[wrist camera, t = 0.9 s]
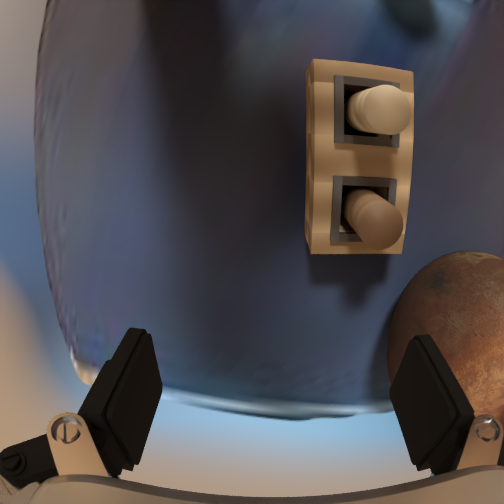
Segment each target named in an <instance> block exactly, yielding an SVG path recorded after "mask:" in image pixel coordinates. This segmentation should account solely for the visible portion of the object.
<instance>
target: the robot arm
mask: <svg viewBox="0 0 504 504" xmlns="http://www.w3.org/2000/svg"><path fill="white" fill-rule="evenodd" d="M161 394H162V381H161V377H160V373H159V369H158V364H157V360H156V356H155V351H154V346H153V341H152V337H151V334H147V332H146V330H145V329H138V328H129V329H128V331H127V332H126V334H125V336H124V338H123V339H122V341H121V343H120V345H119V346H118V348H117V350H116V352H115V353H114V355H113V357H112V359H111V360H108V361H106V362H105V364H104V365H103V367H102V369H101V371H100V373H99V374H98V376H97V378H96V380H95V382H94V383H93V385H92V387H91V389H90V391H89V393H88V394H87V396H86V398H85V400H84V402H83V404H82V406H81V408H80V410H79V412H78V414H75V413H69V412H66V413H61V414H59V415H57V416H55V417H54V418H53V419H52V420H51V421H50V422H49V424H48V427H47V434H44V435H41V436H39V437H36V438H33V439H30V440H27V441H25V442H22V443H19V444H16V445H13V446H10V447H7V448H6V449H4V450H3V451H2V452H1V453H0V504H504V436H503V434H504V430H503V426H502V424H501V423H500V421H499V420H498V419H497V418H496V417H494V416H492V415H488V414H481V415H479V416H477V417H475V415H474V412H475V411H474V410H473V408H472V406H471V404H470V402H469V400H468V398H467V396H466V395H465V393H464V391H463V389H462V387H461V386H460V384H459V382H458V380H457V379H456V377H455V375H454V373H453V372H452V370H451V368H450V366H449V365H448V363H447V361H446V360H445V358H444V356H443V355H442V353H441V351H440V350H439V348H438V346H437V345H436V343H435V342H434V340H433V338H432V337H431V336H430V335H429V334H424V335H415V336H414V337H413V339H411V340H410V341H409V343H408V345H407V348H406V351H405V353H404V356H403V359H402V361H401V364H400V366H399V369H398V371H397V373H396V376H395V378H394V380H393V383H392V385H391V387H390V393H389V394H390V398H391V401H392V404H393V407H394V410H395V413H396V415H397V418H398V421H399V424H400V427H401V430H402V433H403V437H404V439H405V443H406V446H407V449H408V452H409V455H410V459H411V462H412V463H413V465H416V467H417V470H418V471H421V470H425V469H429V468H430V469H431V472H432V473H431V476H430V477H429V478H425V479H421V480H417V481H412V482H408V483H403V484H399V485H394V486H389V487H383V488H378V489H372V490H366V491H358V492H351V493H342V494H333V495H322V496H306V497H242V496H227V495H215V494H205V493H197V492H189V491H182V490H176V489H169V488H163V487H157V486H152V485H147V484H142V483H137V482H132V481H127V480H122V479H120V477H119V475H120V474H121V472H122V469H126V470H129V471H133V467H134V464H135V465H138V464H139V462H140V460H141V456H142V453H143V450H144V447H145V443H146V440H147V437H148V434H149V431H150V428H151V424H152V421H153V418H154V415H155V412H156V409H157V406H158V403H159V400H160V397H161Z"/></svg>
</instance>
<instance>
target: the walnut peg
mask: <svg viewBox="0 0 504 504" xmlns="http://www.w3.org/2000/svg"><path fill="white" fill-rule="evenodd" d="M341 210H342V214H343V216H344V218H345V219H346V220H347V221H348V223H349V224H350V225H351V227H352V228H353V229H354V230H355V232H356V233H357V234H358V236H359V237H360V238H361V240H362V241H363V242H364V243H365V244H366V245H367V246H368V247H370V248H372V249H375V250H383V249H387V248H389V247H391V246H392V245H394V244H395V243H396V242H397V241H398V239H399V238H400V236H401V234H402V231H403V225H404V224H403V217H402V215H401V213H400V211H399V210H398V209H397V208H396V207H394V206H393V205H392V204H390V203H389V202H387V201H386V200H385V199H383V198H382V197H380V196H379V195H377V194H376V193H374V192H373V191H372V190H370V189H368V188H365V187H356V188H353V189H351V190H350V191H348V192H347V193H346V195H345V196H344V198H343V200H342V204H341Z"/></svg>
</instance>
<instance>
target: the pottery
mask: <svg viewBox="0 0 504 504" xmlns="http://www.w3.org/2000/svg"><path fill="white" fill-rule="evenodd" d="M424 334H429V335H430V336H431V337H432V338H433V340H434V342H435V343H436V345H437V346H438V348H439V350H440V351H441V353H442V355H443V356H444V358H445V360H446V361H447V363H448V365H449V366H450V368H451V370H452V372H453V373H454V375H455V377H456V379H457V380H458V382H459V384H460V386H461V387H462V389H463V391H464V393H465V395H466V396H467V398H468V400H469V402H470V404H471V406H472V408H473V410H474V411H475V412H474V415H475V417H477V416H479V415H481V414H488V415H492V416H494V417H496V418H497V419H498V420H499V421H500V423H501V424H502V426H503V430H504V260H503V259H501V258H500V257H497V256H494V255H491V254H488V253H483V252H478V251H459V252H454V253H450V254H447V255H443V256H441V257H439V258H437V259H435V260H434V261H432V262H430V263H429V264H427V265H426V266H425V267H423V268H422V269H421V270H420V271H419V272H418V273H417V274H416V275H415V276H414V277H413V278H412V279H411V281H410V282H409V283H408V284H407V286H406V288H405V289H404V291H403V293H402V295H401V297H400V299H399V301H398V303H397V305H396V308H395V311H394V313H393V316H392V320H391V324H390V329H389V338H388V349H387V365H388V372H389V378H390V381H391V385H392V383H393V380H394V378H395V376H396V373H397V371H398V369H399V366H400V364H401V361H402V359H403V356H404V353H405V351H406V348H407V345H408V343H409V341H410V340H411V339H413V337H414V336H415V335H424ZM503 436H504V434H503Z"/></svg>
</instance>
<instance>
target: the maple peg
mask: <svg viewBox="0 0 504 504" xmlns="http://www.w3.org/2000/svg"><path fill="white" fill-rule="evenodd" d="M411 113H412V112H411V105H410V102H409V100H408V98H407V97H406V95H405V94H404V93H403V92H402V91H401V90H400V89H398V88H396V87H394V86H391V85H380V86H376V87H373V88H370V89H367V90H363V91H360V92H357V93H355V94H353V95H351V96H350V97H349V98H348V99H347V101H346V103H345V106H344V114H345V118H346V120H347V122H348V123H349V124H350V125H351V126H352V127H353V128H354V129H356V130H358V131H361V132H370V133H379V134H387V135H394V134H398V133H400V132H402V131H403V130H405V129H406V127H407V126H408V125H409V123H410V120H411Z"/></svg>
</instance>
